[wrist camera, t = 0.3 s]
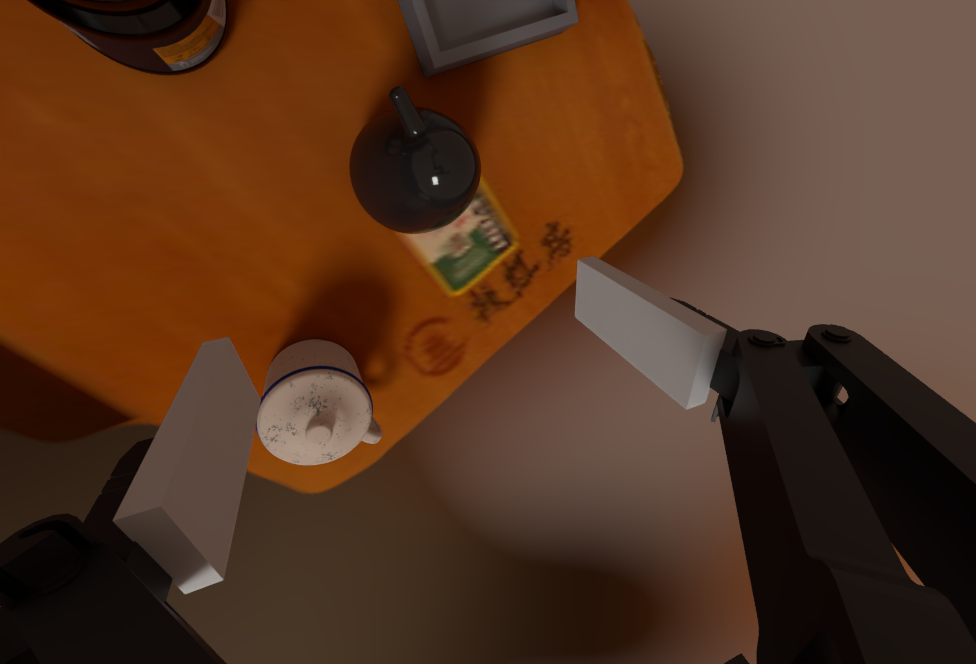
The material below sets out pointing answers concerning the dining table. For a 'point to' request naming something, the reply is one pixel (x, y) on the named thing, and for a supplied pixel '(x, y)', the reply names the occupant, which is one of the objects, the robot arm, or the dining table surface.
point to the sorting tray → (480, 28)
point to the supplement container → (147, 30)
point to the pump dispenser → (414, 167)
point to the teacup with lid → (315, 404)
